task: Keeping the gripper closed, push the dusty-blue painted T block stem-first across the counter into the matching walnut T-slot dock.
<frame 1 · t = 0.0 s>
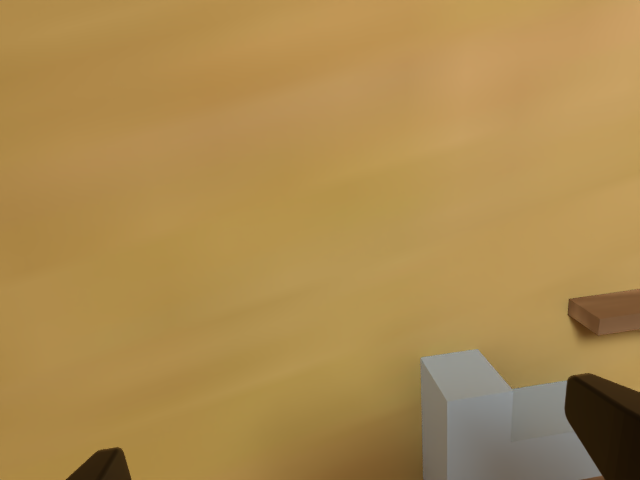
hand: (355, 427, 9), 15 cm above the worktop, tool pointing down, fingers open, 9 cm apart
t block: (449, 422, 28), on the worktop
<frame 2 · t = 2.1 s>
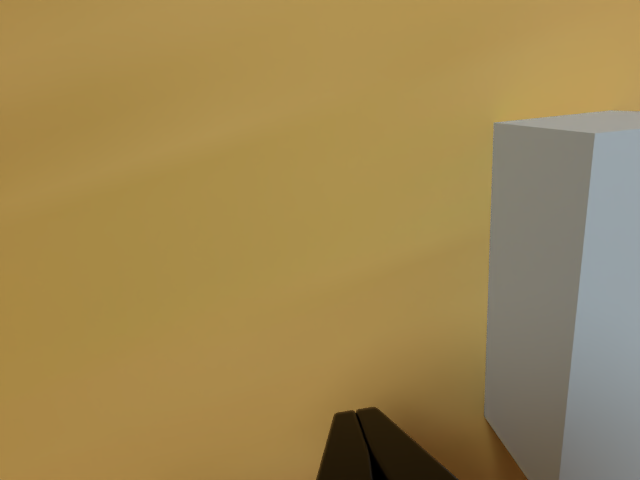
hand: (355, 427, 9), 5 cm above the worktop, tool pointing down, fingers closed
t block: (540, 278, 14), on the worktop
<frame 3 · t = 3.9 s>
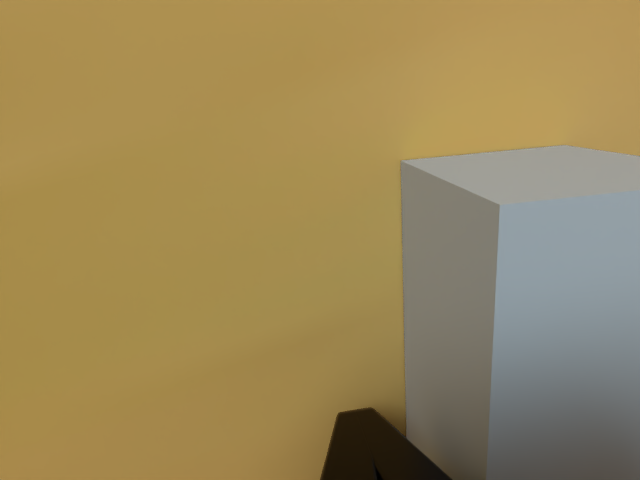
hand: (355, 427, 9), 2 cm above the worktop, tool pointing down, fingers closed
t block: (476, 363, 11), on the worktop, touching gripper
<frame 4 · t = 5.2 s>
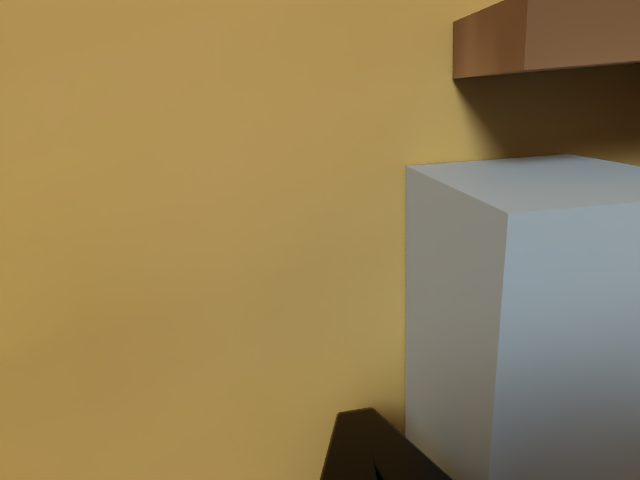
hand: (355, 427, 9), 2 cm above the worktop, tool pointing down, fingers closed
t block: (476, 368, 11), on the worktop, touching gripper
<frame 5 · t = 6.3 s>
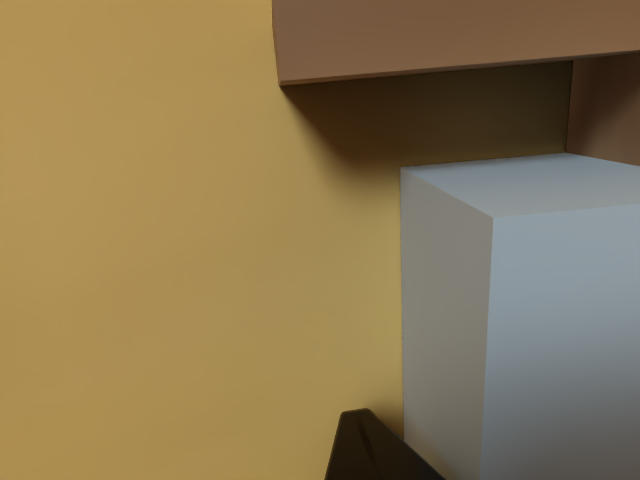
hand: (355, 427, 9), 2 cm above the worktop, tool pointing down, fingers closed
t block: (474, 369, 11), on the worktop, touching dock, gripper
dock: (558, 349, 11), on the worktop
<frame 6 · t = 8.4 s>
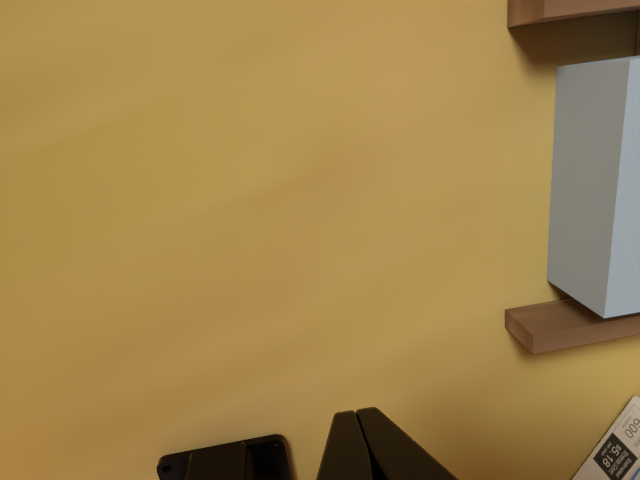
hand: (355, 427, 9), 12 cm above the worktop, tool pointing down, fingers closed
light bulb box: (620, 472, 27), on the worktop
t block: (587, 176, 21), on the worktop
dock: (629, 164, 21), on the worktop
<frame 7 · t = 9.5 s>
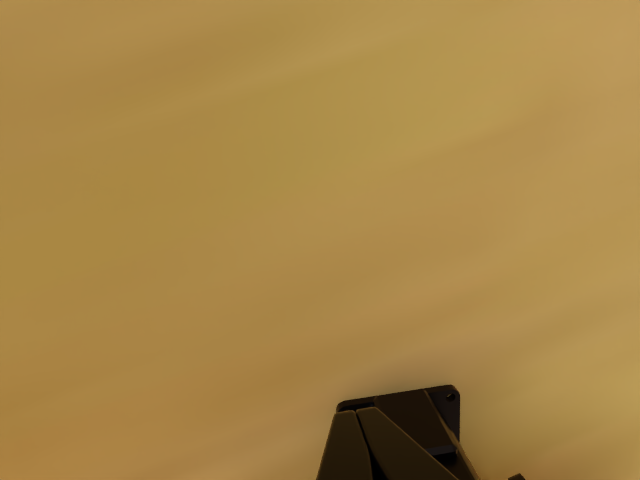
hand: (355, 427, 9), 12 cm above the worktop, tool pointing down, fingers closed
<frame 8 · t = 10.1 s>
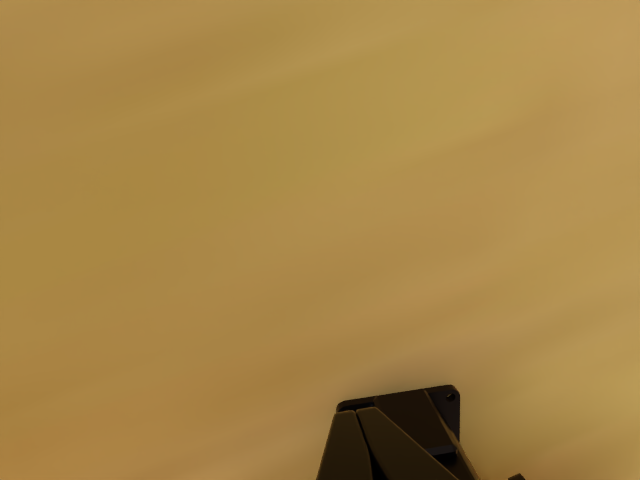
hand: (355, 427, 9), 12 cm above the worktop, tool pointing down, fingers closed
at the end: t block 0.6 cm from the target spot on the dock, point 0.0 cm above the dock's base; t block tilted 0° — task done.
